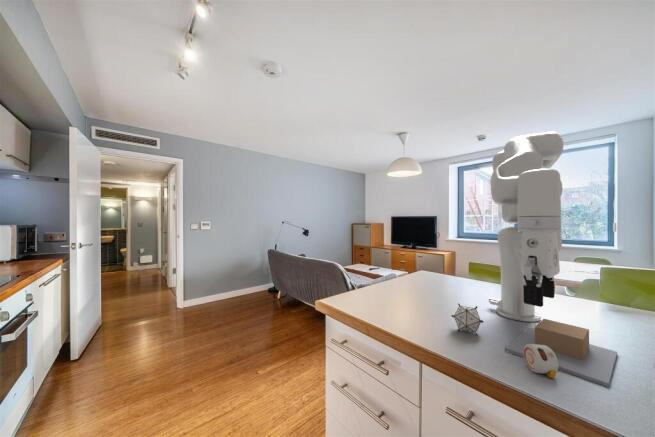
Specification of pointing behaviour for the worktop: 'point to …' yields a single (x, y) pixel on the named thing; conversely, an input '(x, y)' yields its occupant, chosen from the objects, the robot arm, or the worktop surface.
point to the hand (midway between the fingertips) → (539, 300)
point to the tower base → (572, 365)
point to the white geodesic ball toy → (467, 319)
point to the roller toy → (541, 359)
